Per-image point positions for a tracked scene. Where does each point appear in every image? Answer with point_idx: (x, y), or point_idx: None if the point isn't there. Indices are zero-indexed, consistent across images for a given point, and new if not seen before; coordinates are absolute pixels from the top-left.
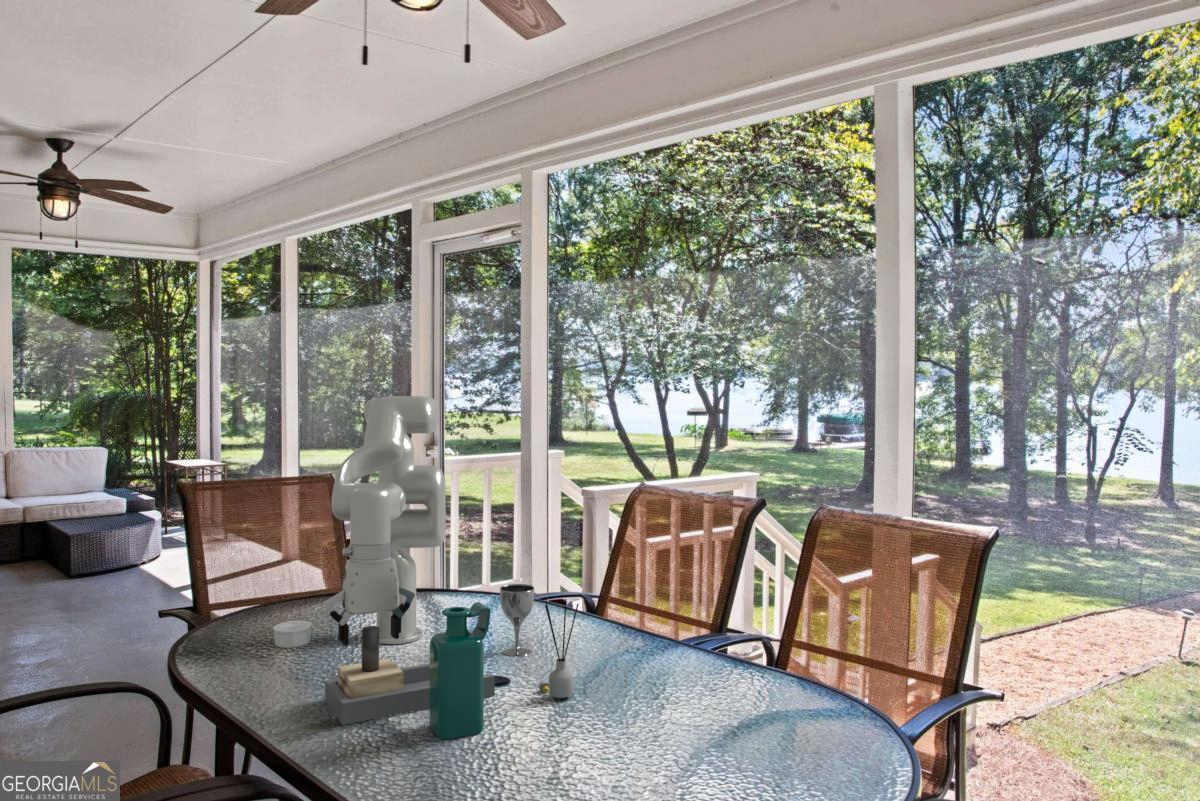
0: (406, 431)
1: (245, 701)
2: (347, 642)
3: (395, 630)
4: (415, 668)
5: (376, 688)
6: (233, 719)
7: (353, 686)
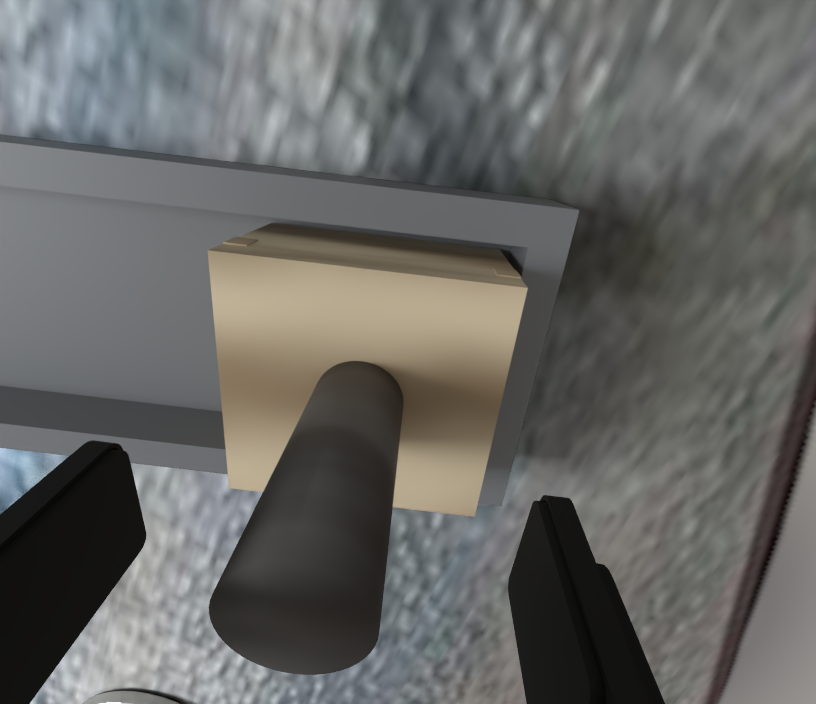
0: None
1: (673, 571)
2: (556, 513)
3: (65, 500)
4: (137, 438)
5: (381, 253)
6: (786, 474)
7: (505, 278)
